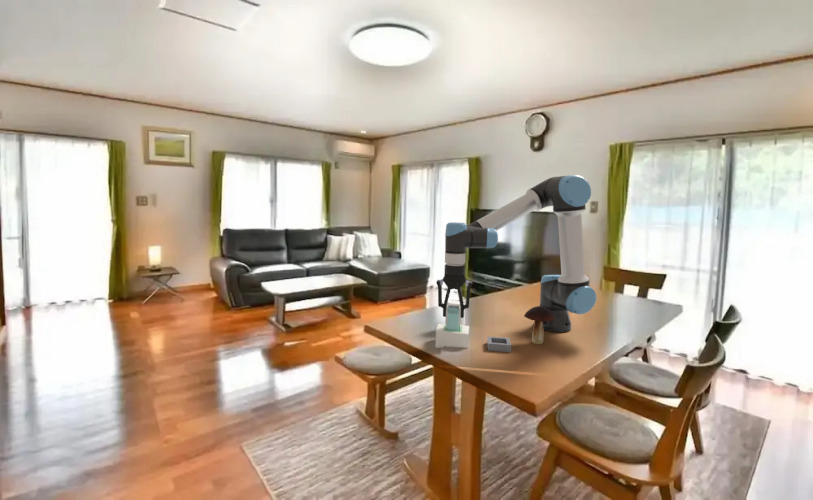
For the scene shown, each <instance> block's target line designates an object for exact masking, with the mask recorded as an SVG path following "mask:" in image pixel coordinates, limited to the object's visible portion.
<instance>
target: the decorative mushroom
mask: <svg viewBox="0 0 813 500" xmlns="http://www.w3.org/2000/svg"><path fill="white" fill-rule="evenodd" d="M523 317H524V318H526V319H528V320H531V321H534V322H533V327H532V333H531V334H532V335H531V342H532V344H534V345H542V344H543V343H544V339H545V338H544V335H545V334H544V333H545V332H544V331H545V330H544V329H543V321H553V320H554V317H553V315H552V313H551V312H550V311H548V310H547V309H545V308H543V307H541V306H540V305H537V306H533V307H531V308H530V309H528V310H527V311H526V312H525V313H524V315H523Z"/></svg>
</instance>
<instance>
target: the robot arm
mask: <svg viewBox="0 0 813 500" xmlns="http://www.w3.org/2000/svg"><path fill="white" fill-rule="evenodd" d="M591 196H592V188H591V185H590V183H589V181H588V180H587V179H585V178H584V177H583V176H581V175H576V174H575V175H574V174H570V175H569V174H567V175H561V176H553V177H549V178H547V179H545V180H543V181H542V182H540V183H538V184H536V185H534V186H532V187H531V188H529V189H527V190H526V192H525V194H523V195H521V196H519V197H518V198H515V199H514V200H512V201H510V202H508V203H507V204H505V205H503V206H501V207H499V208H498V209H496V210H494V211H492V212H490V213H487V214H486V215H485V216H483V217H481V218H479V219H477V220H476V221H473V222H472V223H469V224H467V223H466V222H458V221H457V222H456V221H455V222H454V221H453V222H448V223H447V224H446V225H445V235H444V236H445V237H444V238H445V241H444V244H445V247H444V248H445V251H444V276H443V278H441V279H437V280H436V285H437V306H438V307H440V308H442V317H443V318H444V317H445V318H446V326H447V324H448V307H447V302H448V301H449V297H450V294H451V290H456V291H457V296H458V300H459V301H460V307H461V308H459V320H458V327H460V325H461V318H463V317H464V309H465V310H466V309H469V307H470V298H471V296H470V295H471V289H472V286H473V282H472V281H471V280H470V281H469V280H467V278H466V276H465V274H466V265H465V264H466V253H467V252H466V249H487V250H488V249H493V248H495V247H496V246H497V245H498V240H499V233H498V230H500V229H502V228H504V227H506V226H508V225H511V223H513V222H516V221H517V220H519V219H521V218H522V217H524V216H526V215H528V214H530V213H532V212H534V211H541V210H542V209H545V208H548V207H552V211H553V212H552V213H553V214H555V215H556V216H557V224H558V226H557V227H558V238H559V239H558V240H559V253H560V254H559V256H560V259H559V261H560V271H561V273H560V274H544V275H542V276H541V280H540V284H539V285H540V295H539V306H541V307H543V308H545V309H547V310H548V311H550V312H551V313H552V315H553V317H554V320H553V321H543V329H544V331H548V332H554V333H555V332H556V333H566V332H569V331H571V330H572V321H571V317H570V314H569V312H570V313H571V314H576V315H584V314H587V313H589V312H590V311H592V308H594V307H595V304H596V303H597V293H596V290H595V289H594V288H593V287H591V286H590V285H591V284H590V278H589V277H588V276H587V275H586V274H585V273H586V272H585V270H586V269H585V254H584V251H585V250H584V237H583V236H584V235H583V217H582V216H583V215H582V214H583V212H585V211H586V210H587V209H586V204H587V203H588V202H589V200H590V199H591ZM443 284H445V285H446V287H447V289H446V293H445V297H444V300H443ZM464 284H465V287H466V297H465V302H464V297H463V292H462V287H463V285H464ZM443 301H444V302H443ZM463 302H464V303H463ZM464 304H465V305H464Z"/></svg>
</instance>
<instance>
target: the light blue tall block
mask: <svg viewBox="0 0 813 500" xmlns="http://www.w3.org/2000/svg"><path fill="white" fill-rule="evenodd" d="M458 320H459V306H454V305H449V306H448V324H447V330H455V331H458V329H459V327H458Z"/></svg>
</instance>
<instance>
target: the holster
mask: <svg viewBox="0 0 813 500" xmlns="http://www.w3.org/2000/svg"><path fill="white" fill-rule="evenodd" d="M486 343H487V351H489V352H492V351H493V352H504V353H512V352H511V351H512V343H511V339H510V337H501V336H491V335H490V336H489V335H487V341H486Z"/></svg>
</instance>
